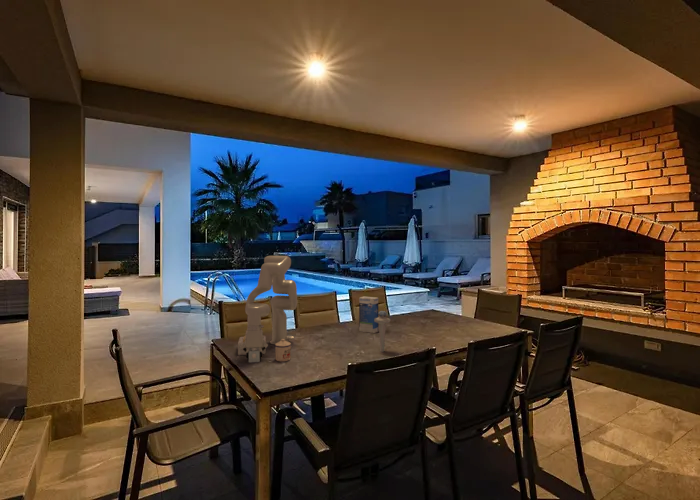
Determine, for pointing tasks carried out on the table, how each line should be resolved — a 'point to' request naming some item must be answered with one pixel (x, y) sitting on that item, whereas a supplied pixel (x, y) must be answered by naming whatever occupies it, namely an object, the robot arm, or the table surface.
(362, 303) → the string lights box
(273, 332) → the robot arm
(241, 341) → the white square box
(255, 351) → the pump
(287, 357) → the teacup with lid
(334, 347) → the table surface
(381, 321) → the novelty light stick
